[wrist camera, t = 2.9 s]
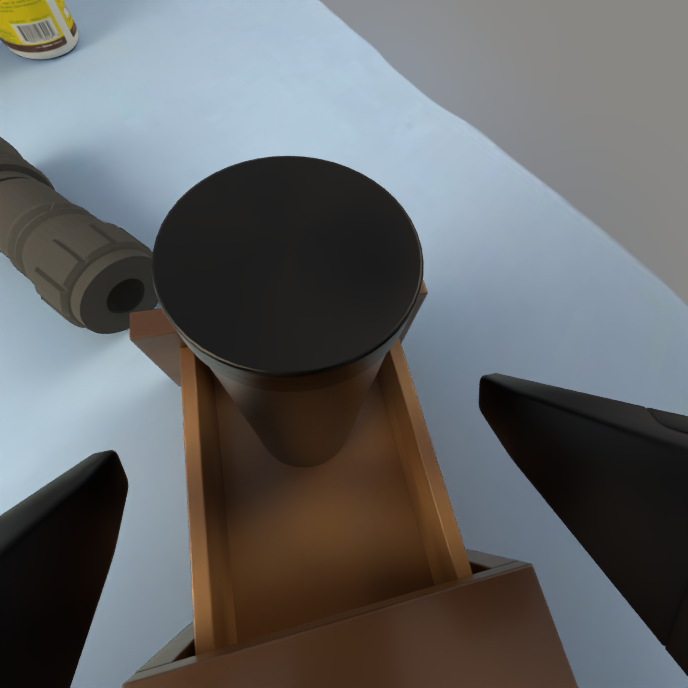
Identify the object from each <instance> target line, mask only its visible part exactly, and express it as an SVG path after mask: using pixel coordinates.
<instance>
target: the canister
mask: <svg viewBox="0 0 688 688" xmlns="http://www.w3.org/2000/svg"><path fill="white" fill-rule="evenodd" d="M423 265H424V262H423V254H422V248H421V244H420V240H419V237H418V234H417V231H416V229H415V227H414V225H413V223H412V221H411V219H410V218H409V216H408V214H407V213H406V211H405V210H404V208H403V207H402V206H401V205H400V204H399V203H398V201H397V200H396V199H395V198H394V197H393V196H392V195H391V194H390V193H389V192H388V191H386V190H385V189H384V188H383V187H381V186H380V185H379V184H377V183H376V182H375V181H373V180H372V179H370V178H368V177H367V176H365V175H363V174H361V173H359V172H357V171H355V170H353V169H351V168H348V167H346V166H343V165H340V164H337V163H334V162H330V161H326V160H322V159H317V158H310V157H301V156H273V157H265V158H258V159H253V160H249V161H245V162H241V163H238V164H235V165H232V166H229V167H227V168H225V169H222V170H220V171H218V172H216V173H214V174H212V175H210V176H209V177H207V178H205V179H203V180H202V181H200V182H199V183H198V184H196V185H195V186H194V187H192V188H191V189H190V190H189V191H187V192H186V193H185V194H184V195H183V196H182V197H181V198H180V199H179V200H178V201H177V203H176V204H175V205H174V206H173V208H172V209H171V210H170V211H169V213H168V215H167V216H166V218H165V220H164V221H163V223H162V225H161V227H160V230H159V232H158V235H157V237H156V241H155V245H154V249H153V257H152V276H153V285H154V288H155V292H156V295H157V299H158V301H159V303H160V305H161V307H162V310H163V312H164V314H165V315H166V317H167V318H168V320H169V321H170V323H171V324H172V325H173V327H174V328H175V330H176V331H177V332H178V334H179V335H180V336H181V338H182V339H183V340H184V342H185V343H186V344H187V346H188V347H189V348H190V349H191V350H192V352H193V353H194V354H195V355H196V356H197V357H198V358H199V359H200V360H201V361H203V362H204V363H205V364H206V365H208V366H209V367H210V368H211V370H212V371H213V372H214V374H215V375H216V377H217V378H218V380H219V381H220V382H221V384H222V385H223V387H224V388H225V390H226V391H227V393H228V394H229V395H230V397H231V398H232V400H233V401H234V403H235V404H236V405H237V407H238V408H239V410H240V411H241V413H242V414H243V416H244V417H245V418H246V420H247V421H248V423H249V424H250V426H251V427H252V428H253V430H254V431H255V433H256V434H257V436H258V437H259V439H260V440H261V441H262V443H263V444H264V446H265V447H266V449H267V450H268V451H269V452H270V453H271V454H272V455H273V456H274V457H275V458H276V459H278V460H279V461H281V462H283V463H285V464H288V465H291V466H295V467H311V466H316V465H319V464H321V463H324V462H326V461H327V460H329V459H331V458H332V457H333V456H334V455H336V453H337V452H338V451H339V450H340V449H341V448H342V446H343V445H344V443H345V441H346V439H347V437H348V435H349V433H350V431H351V428H352V426H353V424H354V422H355V420H356V418H357V416H358V413H359V411H360V409H361V407H362V405H363V403H364V400H365V398H366V396H367V394H368V392H369V390H370V388H371V385H372V383H373V381H374V379H375V377H376V375H377V372H378V370H379V368H380V366H381V364H382V362H383V360H384V357H385V355H386V353H387V352H388V351H389V350H390V349H391V347H392V346H393V345H394V343H395V342H396V341H397V339H398V338H399V336H400V334H401V333H402V331H403V329H404V327H405V325H406V323H407V321H408V319H409V317H410V315H411V313H412V311H413V309H414V307H415V305H416V302H417V299H418V297H419V294H420V291H421V286H422V280H423Z"/></svg>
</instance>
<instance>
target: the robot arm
mask: <svg viewBox="0 0 688 688" xmlns="http://www.w3.org/2000/svg"><path fill="white" fill-rule="evenodd" d="M479 408H480V411H481V413H482V415H483V416H484V418H485V419H486V421H487V422H488V424H489V425H490V427H491V428H492V430H493V431H494V433H495V435H496V436H497V438H498V439H499V441H500V442H501V444H502V445H503V447H504V448H505V450H506V451H507V453H508V454H509V456H510V457H511V458H512V460H513V461H514V462H515V464H516V465H517V466H518V467H519V469H520V470H521V471H522V472H523V474H524V475H525V476H526V477H527V478H528V480H529V481H530V482H531V483H532V485H533V486H534V487H535V488H536V490H537V491H538V492H539V493H540V495H541V496H542V497H543V498H544V499H545V501H546V502H547V503H548V504H549V506H550V507H551V508H552V509H553V511H554V512H555V513H556V514H557V515H558V517H559V518H560V519H561V520H562V522H563V523H564V524H565V525H566V527H567V528H568V529H569V530H570V531H571V533H572V534H573V535H574V536H575V538H576V539H577V540H578V541H579V543H580V544H581V545H582V546H583V548H584V549H585V550H586V551H587V552H588V554H589V555H590V556H591V557H592V559H593V560H594V561H595V562H596V564H597V565H598V566H599V567H600V568H601V570H602V571H603V572H604V573H605V575H606V576H607V577H608V578H609V580H610V581H611V582H612V583H613V584H614V586H615V587H616V588H617V589H618V591H619V592H620V593H621V594H622V596H623V597H624V598H625V599H626V601H627V602H628V603H629V604H630V605H631V607H632V608H633V609H634V610H635V612H636V613H637V614H638V615H639V617H640V618H641V619H642V620H643V621H644V623H645V624H646V625H647V626H648V628H649V629H650V630H651V631H652V633H653V634H654V635H655V636H656V637H657V639H658V640H659V641H660V642H661V644H662V645H664V646H666V647H665V649H666V650H667V651H668V653H669V654H670V655H671V656H672V658H673V659H674V660H675V661H676V663H677V664H678V665H679V666H680V667H681V669H682V670H683V671H684V672H685V674H686V675H687V676H688V416H684V415H679V414H675V413H670V412H666V411H661V410H657V409H652V408H647V409H646V408H645V407H643V406H639V405H634V404H630V403H626V402H621V401H617V400H612V399H608V398H604V397H599V396H595V395H590V394H586V393H582V392H577V391H573V390H568V389H564V388H559V387H555V386H551V385H546V384H542V383H537V382H533V381H529V380H524V379H520V378H515V377H511V376H507V375H502V374H498V373H494V374H489V375H485V376H482V377H481V379H480V383H479ZM127 492H128V479H127V476H126V474H125V471H124V469H123V466H122V464H121V461H120V459H119V456H118V454H117V453H116V452H115V451H113V450H109V451H104V452H99V453H95V454H92V455H91V456H89V457H88V458H86V459H85V460H83V461H82V462H80V463H79V464H77V465H76V466H74V467H73V468H71V469H70V470H68V471H67V472H65V473H64V474H62V475H61V476H59V477H58V478H56V479H55V480H53V481H52V482H50V483H49V484H47V485H46V486H44V487H43V488H41V489H40V490H38V491H37V492H35V493H34V494H32V495H31V496H29V497H28V498H26V499H25V500H23V501H22V502H20V503H19V504H17V505H16V506H14V507H13V508H11V509H10V510H8V511H7V512H5V513H4V514H2V515H1V516H0V688H70V686H71V683H72V680H73V677H74V674H75V671H76V668H77V665H78V662H79V659H80V656H81V653H82V650H83V647H84V644H85V641H86V638H87V635H88V632H89V629H90V626H91V623H92V620H93V617H94V614H95V611H96V608H97V605H98V602H99V599H100V596H101V593H102V590H103V587H104V584H105V581H106V578H107V575H108V572H109V569H110V566H111V562H112V559H113V556H114V552H115V548H116V544H117V539H118V535H119V530H120V525H121V520H122V516H123V511H124V506H125V502H126V497H127Z"/></svg>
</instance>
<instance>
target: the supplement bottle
mask: <svg viewBox="0 0 688 688" xmlns="http://www.w3.org/2000/svg"><path fill="white" fill-rule="evenodd" d="M78 37H79V35H78V30H77V27H76V25H75V23H74V21H73V19H72V17H71V14H70V12H69V10H68V8H67V6H66V4H65V2H64V0H0V39H1V40H2V41H3V43H4V44H5V45H6V46H7V47H8V48H9V49H10V50H11V51H12V52H14V53H15V54H17V55H19V56H22V57H25V58H30V59H50V58H54V57H58V56H61V55H63V54H65V53H67V52H69V51H70V50H71V49H73V48H74V46H75V45H76V44H77V41H78Z"/></svg>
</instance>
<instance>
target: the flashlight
mask: <svg viewBox="0 0 688 688" xmlns="http://www.w3.org/2000/svg"><path fill="white" fill-rule="evenodd" d="M0 251H1V252H2V253H3V254H4V255H6V256H7V257H8V258H9V259H10V260H11V262H12V264H13V265H14V266H15V267H16V268H17V270H19V271H20V272H21V273H23V274H24V275H25V276H26V277H27V278H29V279H30V280H31V281H32V283H33V284H35V288H36V291H37V292H38V294H40V295H41V299H42V300H44V301H45V302H46V303H47V304H48V305H50V306H51V307H52V308H53V309H54V310H56V311H57V312H58V313H59V314H61V315H62V316H63V317H64V318H65V319H67V320H68V321H69V322H71V323H72V324H74V325H76V326H78V327H81V328H87V329H90V330H91V331H94V332H96V333H101V334H111V333H116V332H120V331H123V330H126V329H128V328H130V313H133V312H140V311H147V310H153V308H154V307H155V306H156V304H157V303H158V299H157V295H156V292H155V288H154V285H153V276H152V257H153V252H152V251H151V250H150V249H149V248H148V247H147V246H145V245H144V244H143V243H141V242H140V241H139V240H137V239H136V238H135V237H133V236H132V235H130V234H129V233H128V232H126V231H125V230H124V229H122V228H121V227H119V228H118V227H117V226H116V225H114V224H111V223H105V222H102V221H101V220H99V219H97V218H96V217H95V216H93V215H92V214H90V213H89V212H88V211H87V210H85V209H83V208H82V207H79V206H77V205H74V204H72V203H71V202H69V201H68V200H67V199H65V198H64V197H63V196H61V195H60V194H59V193H57V192H56V191H55V190H54V187H53V186H52V184H51V182H50V181H49V179H48V178H47V177H46V176H45V175H44V174H43V173H42V172H41V171H39V170H38V169H36V168H35V167H34V166H33V165H31V164H29V163H28V162H27V161H26V160H24V159H23V157H22V156H21V155H20V154H19V152H18V151H17V150H16V149H15V148H14V147H13V146H12V145H10V144H9V143H8V142H7V141H5V140H4V139H2V138H1V137H0Z"/></svg>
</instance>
